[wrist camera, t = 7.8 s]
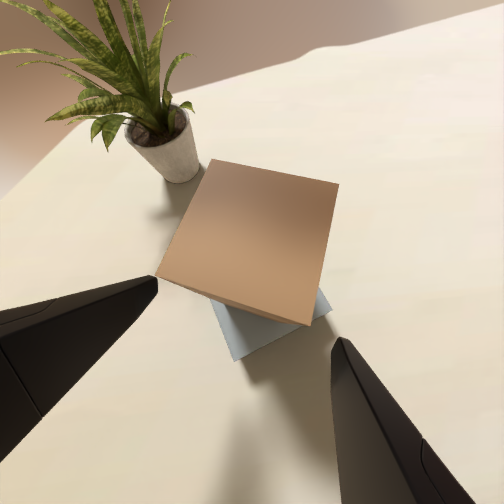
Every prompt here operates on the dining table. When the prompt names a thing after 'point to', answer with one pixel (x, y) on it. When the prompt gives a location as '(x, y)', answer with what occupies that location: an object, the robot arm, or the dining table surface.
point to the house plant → (125, 88)
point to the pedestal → (256, 326)
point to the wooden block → (254, 241)
